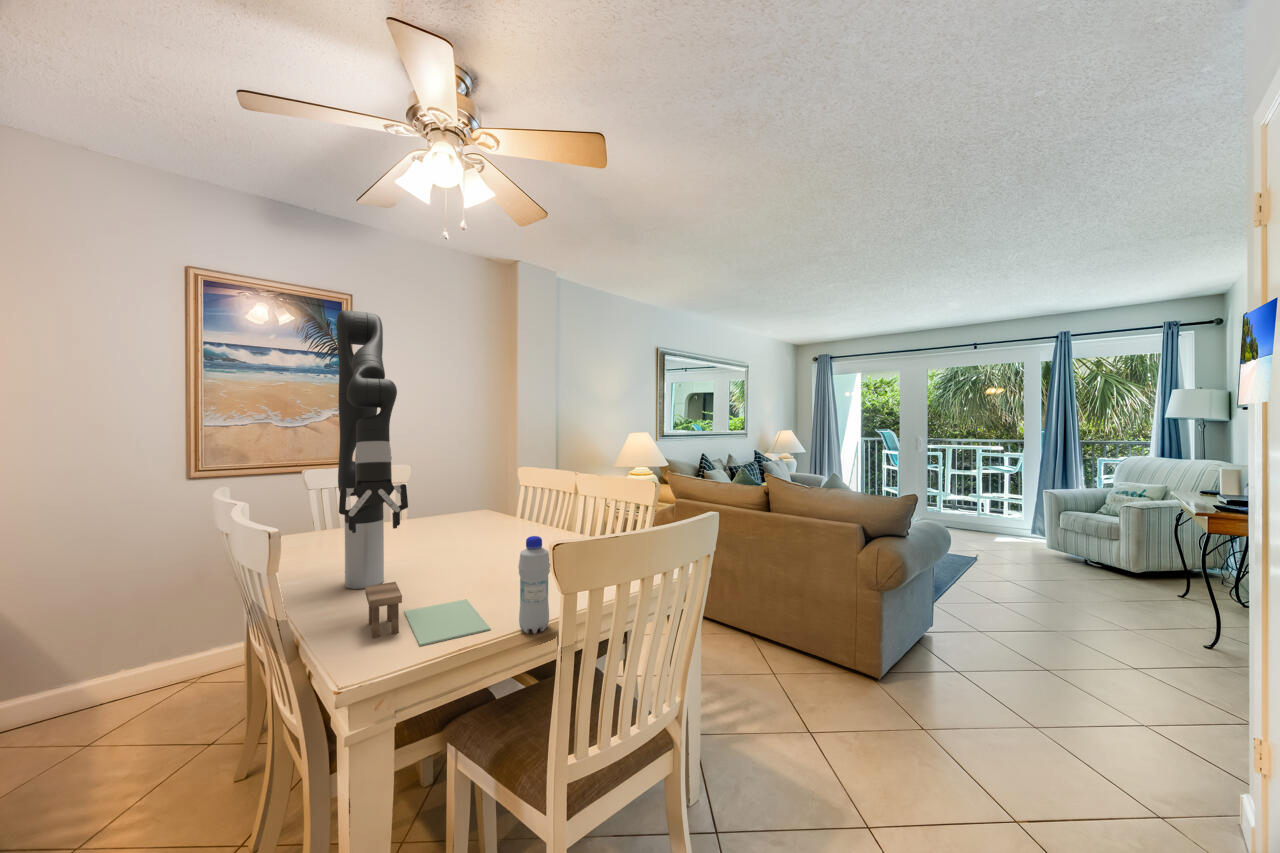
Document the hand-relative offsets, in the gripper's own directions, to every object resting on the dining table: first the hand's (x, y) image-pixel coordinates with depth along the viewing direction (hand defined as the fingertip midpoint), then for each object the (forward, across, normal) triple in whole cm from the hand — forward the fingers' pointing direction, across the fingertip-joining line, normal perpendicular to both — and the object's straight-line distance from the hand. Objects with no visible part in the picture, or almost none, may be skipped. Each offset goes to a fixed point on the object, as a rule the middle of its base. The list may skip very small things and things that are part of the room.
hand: (374, 530), depth 116 cm
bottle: (+23, -27, +28) cm, 45 cm away
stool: (+20, 0, +10) cm, 22 cm away
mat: (+21, -12, +13) cm, 27 cm away
